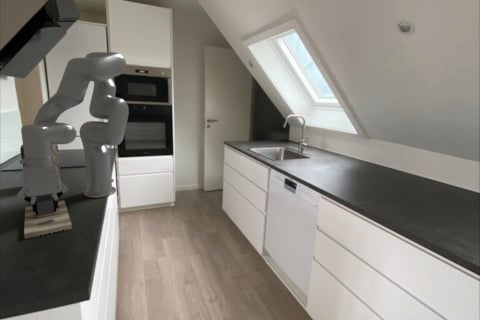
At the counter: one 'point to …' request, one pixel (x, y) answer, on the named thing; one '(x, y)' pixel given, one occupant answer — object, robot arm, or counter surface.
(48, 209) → the sanding sponge
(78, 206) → the counter surface
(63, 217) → the birch board
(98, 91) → the robot arm
